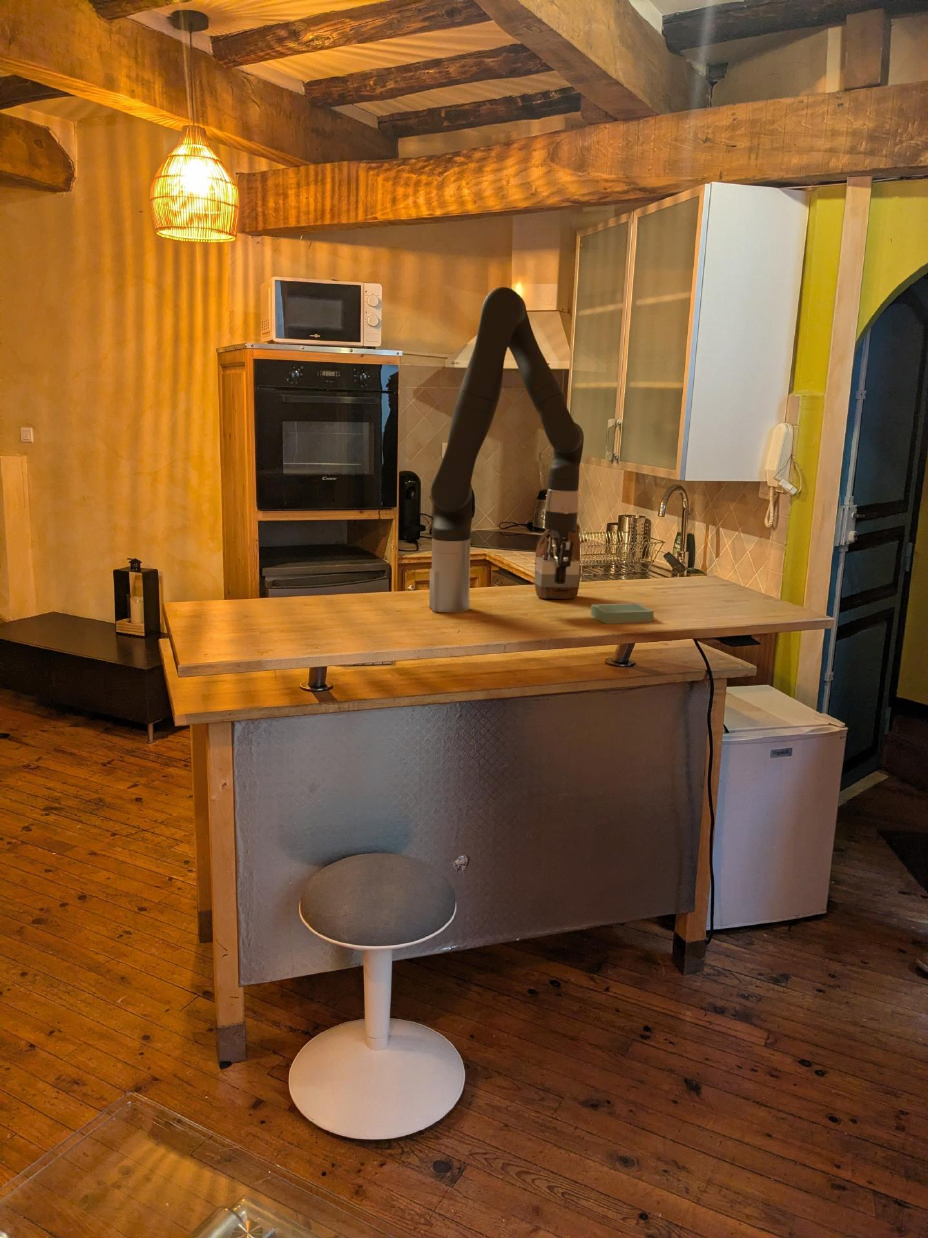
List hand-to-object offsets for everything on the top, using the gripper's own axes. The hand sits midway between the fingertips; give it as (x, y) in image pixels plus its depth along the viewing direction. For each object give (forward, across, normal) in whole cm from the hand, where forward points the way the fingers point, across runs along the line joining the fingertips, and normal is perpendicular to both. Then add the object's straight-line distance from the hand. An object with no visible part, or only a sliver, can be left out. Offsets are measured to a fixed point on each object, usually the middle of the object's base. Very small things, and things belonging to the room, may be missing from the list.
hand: (556, 580), depth 223 cm
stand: (+8, +5, +15) cm, 18 cm away
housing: (+1, 0, 0) cm, 1 cm away
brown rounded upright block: (+9, -20, +7) cm, 23 cm away
